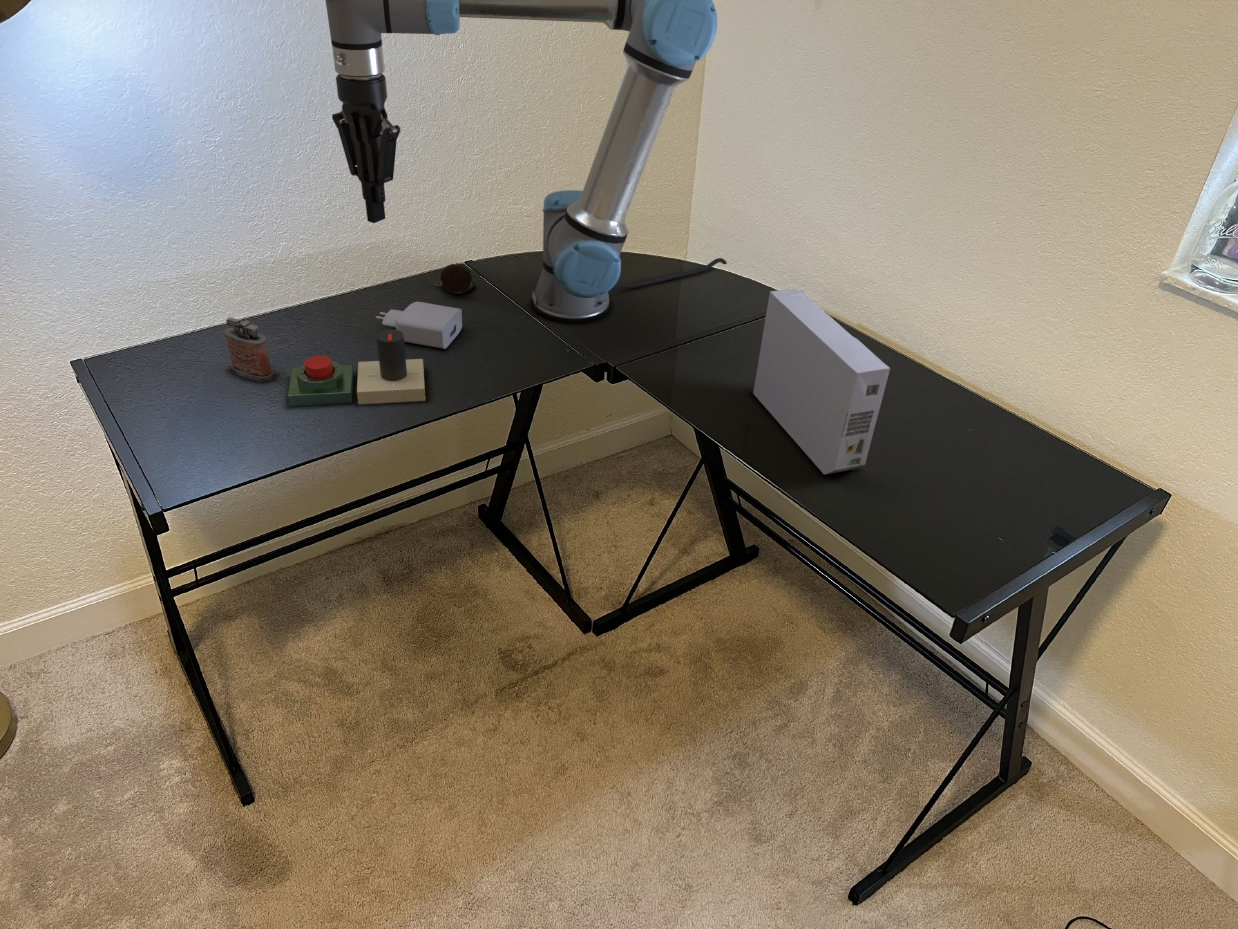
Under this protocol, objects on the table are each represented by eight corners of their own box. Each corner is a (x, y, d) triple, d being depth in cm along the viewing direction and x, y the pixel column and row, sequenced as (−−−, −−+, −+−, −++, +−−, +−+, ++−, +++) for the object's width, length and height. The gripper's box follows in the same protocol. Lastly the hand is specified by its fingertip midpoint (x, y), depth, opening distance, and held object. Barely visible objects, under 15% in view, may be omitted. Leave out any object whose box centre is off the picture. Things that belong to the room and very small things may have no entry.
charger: (389, 316, 183) (462, 328, 181) (368, 337, 176) (443, 351, 173) (387, 293, 180) (461, 306, 178) (365, 314, 173) (442, 328, 170)
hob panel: (423, 370, 167) (422, 357, 166) (425, 401, 159) (424, 387, 158) (359, 374, 165) (358, 360, 164) (358, 404, 157) (356, 391, 156)
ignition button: (334, 365, 160) (332, 354, 159) (332, 378, 157) (331, 368, 156) (307, 366, 159) (305, 356, 158) (305, 380, 156) (303, 369, 155)
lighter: (277, 375, 163) (268, 323, 158) (264, 383, 161) (254, 331, 155) (241, 363, 166) (231, 311, 160) (227, 371, 163) (216, 319, 158)
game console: (781, 389, 169) (800, 287, 158) (863, 477, 149) (891, 368, 137) (752, 393, 167) (769, 291, 156) (831, 483, 147) (857, 373, 135)
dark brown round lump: (474, 282, 197) (473, 249, 193) (471, 299, 191) (470, 265, 187) (436, 280, 197) (434, 247, 192) (431, 297, 190) (429, 264, 186)
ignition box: (353, 375, 165) (351, 355, 162) (352, 403, 158) (349, 382, 155) (293, 378, 163) (290, 358, 160) (289, 406, 156) (285, 386, 153)
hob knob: (380, 368, 162) (376, 328, 158) (406, 367, 163) (403, 326, 158) (380, 381, 159) (376, 340, 154) (407, 380, 160) (403, 339, 155)
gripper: (312, 71, 146) (332, 217, 160) (373, 86, 141) (389, 236, 155) (348, 62, 152) (364, 204, 166) (408, 76, 146) (420, 222, 160)
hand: (376, 219), depth 160 cm, fingers closed
